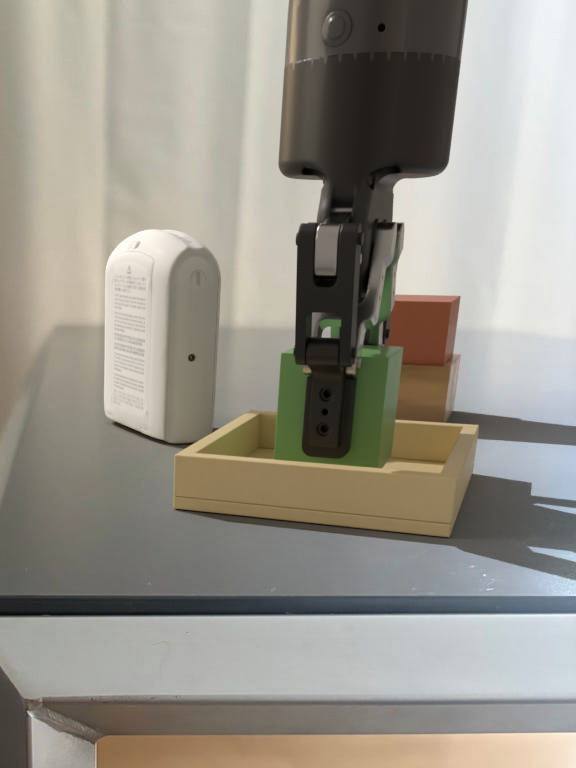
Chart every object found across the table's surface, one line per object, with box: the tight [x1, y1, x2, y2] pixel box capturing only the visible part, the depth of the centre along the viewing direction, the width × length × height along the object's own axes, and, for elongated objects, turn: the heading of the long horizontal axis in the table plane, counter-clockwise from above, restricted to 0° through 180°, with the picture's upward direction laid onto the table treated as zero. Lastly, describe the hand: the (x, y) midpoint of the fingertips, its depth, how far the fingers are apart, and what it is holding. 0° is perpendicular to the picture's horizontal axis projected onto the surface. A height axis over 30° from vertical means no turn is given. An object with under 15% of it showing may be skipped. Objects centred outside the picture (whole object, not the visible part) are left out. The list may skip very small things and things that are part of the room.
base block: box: [395, 353, 462, 423], centre depth 71 cm, size 8×8×4 cm
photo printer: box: [103, 228, 222, 444], centre depth 64 cm, size 10×4×12 cm, turn 23°
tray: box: [172, 409, 480, 538], centre depth 50 cm, size 14×13×3 cm
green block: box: [274, 345, 403, 468], centre depth 49 cm, size 5×5×6 cm
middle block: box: [386, 294, 462, 366], centre depth 69 cm, size 7×7×4 cm
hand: (336, 444), depth 50 cm, fingers closed on green block, 5 cm apart
